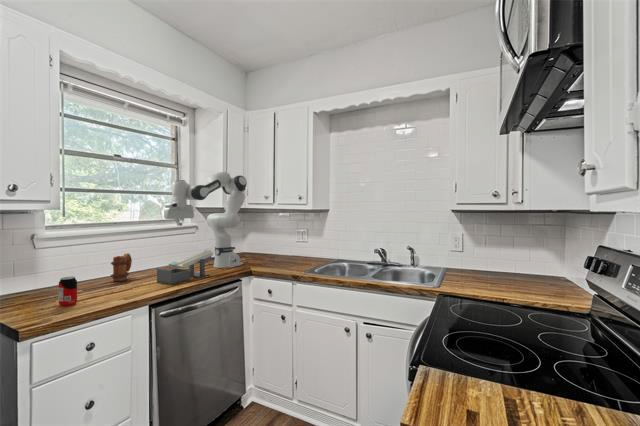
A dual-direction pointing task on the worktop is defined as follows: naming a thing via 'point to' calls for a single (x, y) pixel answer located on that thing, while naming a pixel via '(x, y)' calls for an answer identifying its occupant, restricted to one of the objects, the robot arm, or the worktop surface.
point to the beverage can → (67, 291)
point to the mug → (121, 267)
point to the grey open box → (172, 276)
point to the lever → (194, 259)
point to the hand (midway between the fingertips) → (179, 225)
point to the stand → (202, 270)
